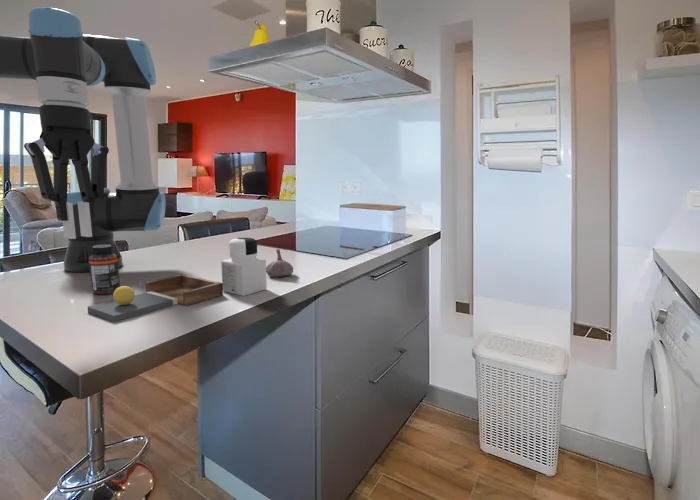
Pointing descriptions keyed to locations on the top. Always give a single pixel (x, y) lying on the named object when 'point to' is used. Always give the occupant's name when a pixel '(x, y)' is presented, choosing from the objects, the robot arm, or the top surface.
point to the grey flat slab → (132, 306)
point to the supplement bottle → (104, 270)
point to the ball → (123, 295)
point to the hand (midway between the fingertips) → (78, 236)
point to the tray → (186, 288)
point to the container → (243, 268)
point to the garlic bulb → (279, 267)
